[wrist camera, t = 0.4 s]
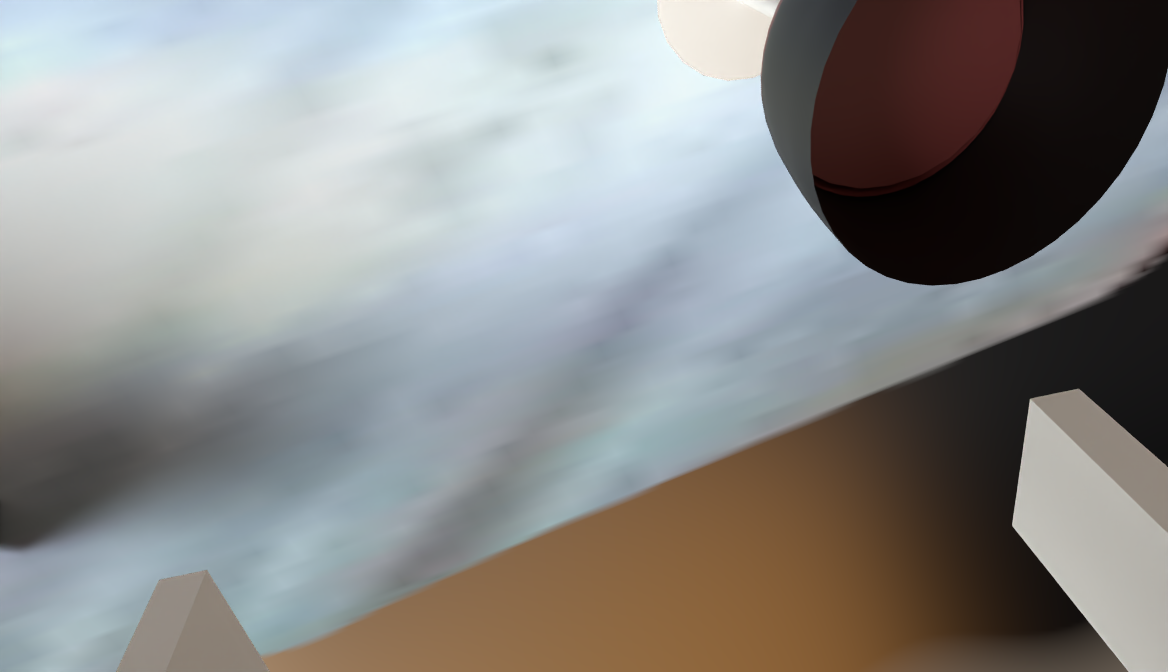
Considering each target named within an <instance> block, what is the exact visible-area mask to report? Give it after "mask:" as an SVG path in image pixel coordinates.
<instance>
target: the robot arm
mask: <svg viewBox="0 0 1168 672" xmlns="http://www.w3.org/2000/svg"><path fill="white" fill-rule="evenodd" d="M1012 526H1013V527H1014V528H1015V530H1016V531H1017V532H1018V533H1019V535H1020V536H1021V537H1022V538H1023V540H1024V541H1025V542H1026V543H1027V545H1028V546H1029V547H1030V548H1031V550H1032V551H1033V552H1034V553H1035V555H1036V556H1037V557H1038V558H1039V560H1040V561H1041V562H1042V563H1043V565H1044V566H1045V567H1046V568H1047V570H1048V571H1049V572H1050V574H1051V575H1052V576H1053V577H1054V578H1055V580H1056V581H1057V582H1058V584H1059V585H1060V586H1061V587H1062V589H1063V590H1064V591H1065V592H1066V594H1067V595H1068V596H1069V597H1070V599H1071V600H1072V601H1073V602H1074V604H1075V605H1076V606H1077V607H1078V609H1079V610H1080V611H1081V612H1082V614H1083V615H1084V616H1085V617H1086V619H1087V620H1088V621H1089V622H1090V624H1091V625H1092V626H1093V627H1094V629H1095V630H1096V631H1097V632H1098V634H1099V635H1100V636H1101V638H1102V639H1103V640H1104V641H1105V643H1106V644H1107V645H1108V646H1109V648H1110V649H1111V650H1112V651H1113V653H1114V654H1115V655H1116V656H1117V658H1118V659H1119V660H1120V661H1121V663H1122V664H1123V665H1124V666H1125V668H1126V669H1127V670H1128V671H1129V672H1168V467H1167V466H1166V465H1165V464H1163V463H1162V462H1161V461H1160V460H1159V459H1158V458H1156V457H1155V456H1154V455H1153V454H1152V453H1151V452H1150V451H1149V450H1148V449H1146V448H1145V447H1144V446H1143V445H1142V444H1141V443H1140V442H1138V441H1137V440H1136V439H1135V438H1134V437H1133V436H1132V435H1131V434H1129V433H1128V432H1127V431H1126V430H1125V429H1124V428H1123V427H1121V426H1120V425H1119V424H1118V423H1117V422H1116V421H1115V420H1113V419H1112V418H1111V417H1110V416H1109V415H1108V414H1107V413H1106V412H1104V411H1103V410H1102V409H1101V408H1100V407H1099V406H1097V405H1096V404H1095V403H1094V402H1093V401H1092V400H1091V399H1090V398H1088V397H1087V396H1086V395H1085V394H1084V393H1083V392H1082V391H1081V390H1079V389H1075V390H1071V391H1066V392H1061V393H1056V394H1051V395H1047V396H1042V397H1037V398H1032V399H1030V404H1029V411H1028V419H1027V425H1026V433H1025V439H1024V446H1023V453H1022V461H1021V468H1020V474H1019V481H1018V488H1017V496H1016V503H1015V509H1014V517H1013V524H1012ZM116 672H270V671H269V669H268V668H267V666H266V665H265V663H264V661H263V660H262V658H261V656H260V655H259V653H258V652H257V650H256V648H255V647H254V645H253V644H252V642H251V640H250V639H249V637H248V636H247V634H246V632H245V631H244V629H243V627H242V626H241V624H240V623H239V621H238V619H237V618H236V616H235V615H234V613H233V611H232V610H231V608H230V606H229V605H228V603H227V602H226V600H225V598H224V597H223V595H222V594H221V592H220V590H219V589H218V587H217V586H216V584H215V582H214V581H213V579H212V577H211V576H210V574H209V573H208V571H207V570H205V571H200V572H195V573H190V574H185V575H181V576H176V577H171V578H166V579H161V580H159V581H158V583H157V586H156V588H155V590H154V592H153V594H152V596H151V598H150V601H149V603H148V605H147V607H146V609H145V611H144V613H143V615H142V618H141V620H140V622H139V624H138V626H137V628H136V630H135V633H134V635H133V637H132V639H131V641H130V643H129V645H128V647H127V650H126V652H125V654H124V656H123V658H122V660H121V662H120V665H119V667H118V669H117V671H116Z"/></svg>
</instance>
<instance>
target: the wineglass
mask: <svg viewBox="0 0 1168 672" xmlns="http://www.w3.org/2000/svg"><path fill="white" fill-rule="evenodd" d="M657 6H658V18H659V20H660V23H661V26H662V29H663V32H664V35H665V38H666V41H667V42H668V44H669V45H670V46H671V48H672V49H673V50H674V51H675V53H676V54H677V55H678V57H679V58H680V59H681V60H682V62H683V63H685V64H687V65H688V66H690V67H691V68H693V69H694V70H696V71H698V72H699V73H701V74H702V75H704V76H709V77H713V78H718V79H722V80H726V81H730V80H739V79H748V78H754V77H756V76H758V75H760V74H761V96H762V103H763V108H764V113H765V119H766V123H767V125H768V128H769V131H770V134H771V136H772V139H773V142H774V145H775V147H776V149H777V152H778V154H779V156H780V157H781V159H782V161H783V163H784V165H785V166H786V168H787V170H788V172H789V173H790V175H791V177H792V178H793V180H794V182H795V183H796V185H797V187H798V188H799V190H800V191H801V193H802V195H803V196H804V198H805V199H806V201H807V202H808V203H809V205H810V206H811V208H812V209H813V210H814V211H815V213H816V214H817V215H818V216H819V218H820V219H821V220H822V222H823V223H824V224H825V225H826V226H827V228H828V229H829V230H830V231H831V232H832V233H833V235H834V236H835V237H836V238H837V239H838V240H839V241H840V243H841V244H842V245H843V246H844V247H845V248H846V249H847V250H848V252H849V253H851V254H852V255H853V256H854V257H856V258H857V259H858V260H859V261H860V262H862V263H863V264H864V265H865V266H867V267H869V268H871V269H873V270H874V271H876V272H878V273H880V274H882V275H884V276H886V277H889V278H893V279H896V280H899V281H903V282H906V283H912V284H922V285H947V284H958V283H963V282H967V281H972V280H977V279H981V278H984V277H986V276H989V275H992V274H995V273H998V272H1000V271H1003V270H1006V269H1008V268H1010V267H1012V266H1014V265H1016V264H1018V263H1020V262H1021V261H1023V260H1025V259H1027V258H1029V257H1031V256H1033V255H1034V254H1036V253H1037V252H1039V251H1040V250H1042V249H1043V248H1045V247H1046V246H1048V245H1049V244H1051V243H1052V242H1054V241H1055V240H1056V239H1058V238H1059V237H1060V236H1061V235H1062V234H1064V233H1065V232H1066V231H1067V230H1068V229H1070V228H1071V227H1072V226H1073V225H1074V224H1076V223H1077V222H1078V221H1079V220H1080V219H1081V218H1082V217H1083V216H1084V215H1085V214H1086V213H1087V212H1088V211H1089V210H1090V209H1091V208H1092V207H1093V206H1094V205H1095V204H1096V203H1097V202H1098V200H1099V199H1100V198H1101V197H1102V196H1103V195H1104V193H1105V192H1106V191H1107V190H1108V188H1109V187H1110V186H1111V184H1112V183H1113V182H1114V181H1115V179H1116V178H1117V177H1118V176H1119V174H1120V173H1121V171H1122V170H1123V168H1124V167H1125V165H1126V164H1127V162H1128V160H1129V159H1130V157H1131V156H1132V154H1133V153H1134V151H1135V149H1136V148H1137V146H1138V144H1139V142H1140V140H1141V138H1142V136H1143V134H1144V132H1145V130H1146V128H1147V126H1148V124H1149V122H1150V120H1151V118H1152V116H1153V113H1154V111H1155V108H1156V105H1157V102H1158V100H1159V97H1160V94H1161V91H1162V88H1163V86H1164V82H1165V77H1166V73H1167V69H1168V0H657Z"/></svg>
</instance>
